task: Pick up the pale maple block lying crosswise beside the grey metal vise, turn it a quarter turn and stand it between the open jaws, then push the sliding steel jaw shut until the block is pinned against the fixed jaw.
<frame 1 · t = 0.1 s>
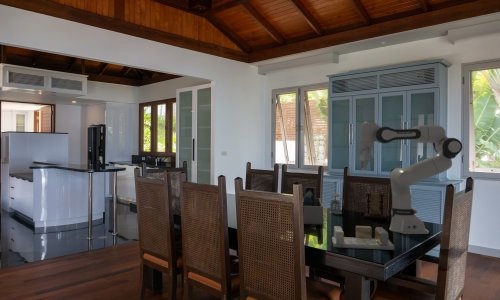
hand: (363, 168, 228), 39 cm above the table, tool pointing down, fingers open, 8 cm apart
vise base: (361, 244, 192), on the table
maple block: (363, 239, 204), on the table
tool tote: (311, 218, 263), on the table
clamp: (308, 218, 264), resting in tool tote
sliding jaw: (381, 235, 191), point 5 cm above the table, slide at 0.0 cm
scroll: (375, 218, 263), on the table
french press: (336, 213, 285), on the table
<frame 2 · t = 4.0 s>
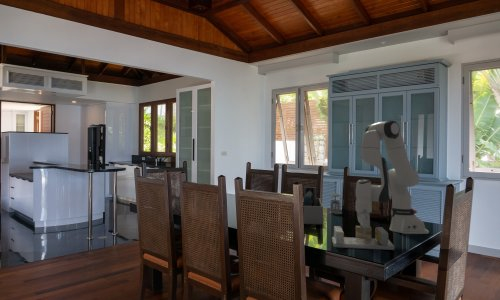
hand: (363, 232, 204), 4 cm above the table, tool pointing down, fingers closed on maple block, 4 cm apart
maple block: (363, 238, 204), on the table, touching gripper
everything else where it was.
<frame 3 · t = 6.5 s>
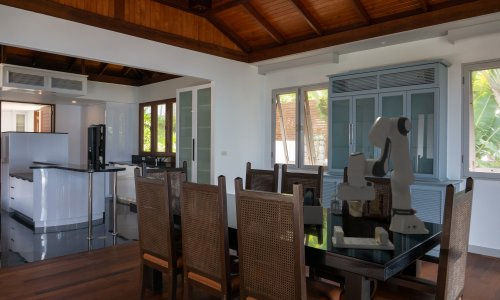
hand: (355, 208, 192), 19 cm above the table, tool pointing down, fingers closed on maple block, 4 cm apart
maple block: (355, 215, 193), point 16 cm above the table, touching gripper
everything else where it was.
when the fingers open (7 cm above the table, at t = 9.1 s): maple block drops 1 cm, resting on vise base.
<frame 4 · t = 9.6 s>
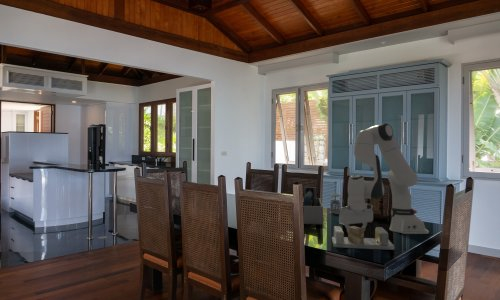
hand: (355, 231, 192), 7 cm above the table, tool pointing down, fingers open, 8 cm apart
maple block: (355, 240, 193), point 2 cm above the table, touching vise base
everything else where it was.
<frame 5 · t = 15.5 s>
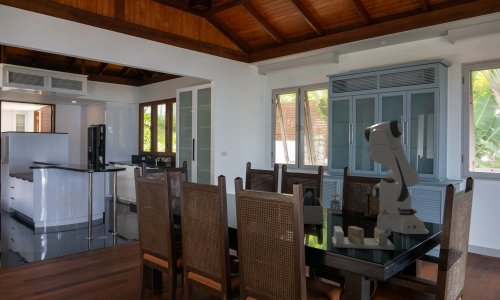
hand: (388, 235, 190), 6 cm above the table, tool pointing down, fingers closed
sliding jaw: (380, 235, 191), point 5 cm above the table, slide at 0.4 cm, touching gripper
everything else where it was.
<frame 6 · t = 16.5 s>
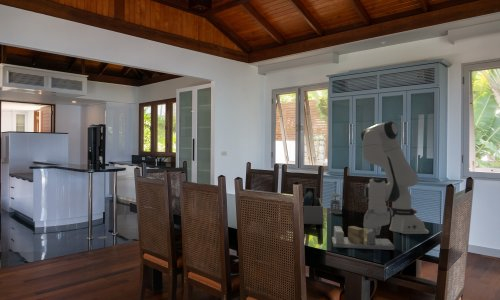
hand: (376, 234, 191), 6 cm above the table, tool pointing down, fingers closed
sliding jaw: (368, 235, 191), point 5 cm above the table, slide at 6.3 cm, touching gripper
everything else where it was.
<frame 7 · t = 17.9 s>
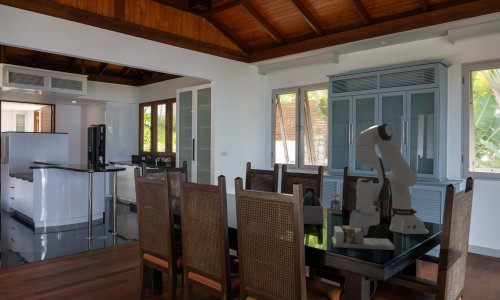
hand: (364, 234, 191), 6 cm above the table, tool pointing down, fingers closed
maple block: (347, 240, 194), point 2 cm above the table, touching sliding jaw, vise base
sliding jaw: (357, 234, 192), point 5 cm above the table, slide at 12.1 cm, touching gripper, maple block
everything else where it was.
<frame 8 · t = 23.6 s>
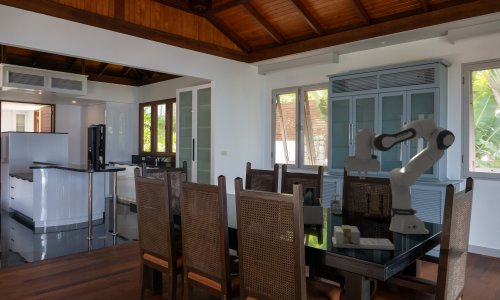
hand: (362, 179, 215), 33 cm above the table, tool pointing down, fingers closed
maple block: (346, 239, 195), point 2 cm above the table, touching vise base
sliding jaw: (354, 234, 193), point 5 cm above the table, slide at 14.0 cm
everything else where it was.
at the end: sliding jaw slide at 14.0 cm; maple block 1.4 cm from the target spot on the vise base, point 2.0 cm above the vise base's base; maple block tilted 0° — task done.
